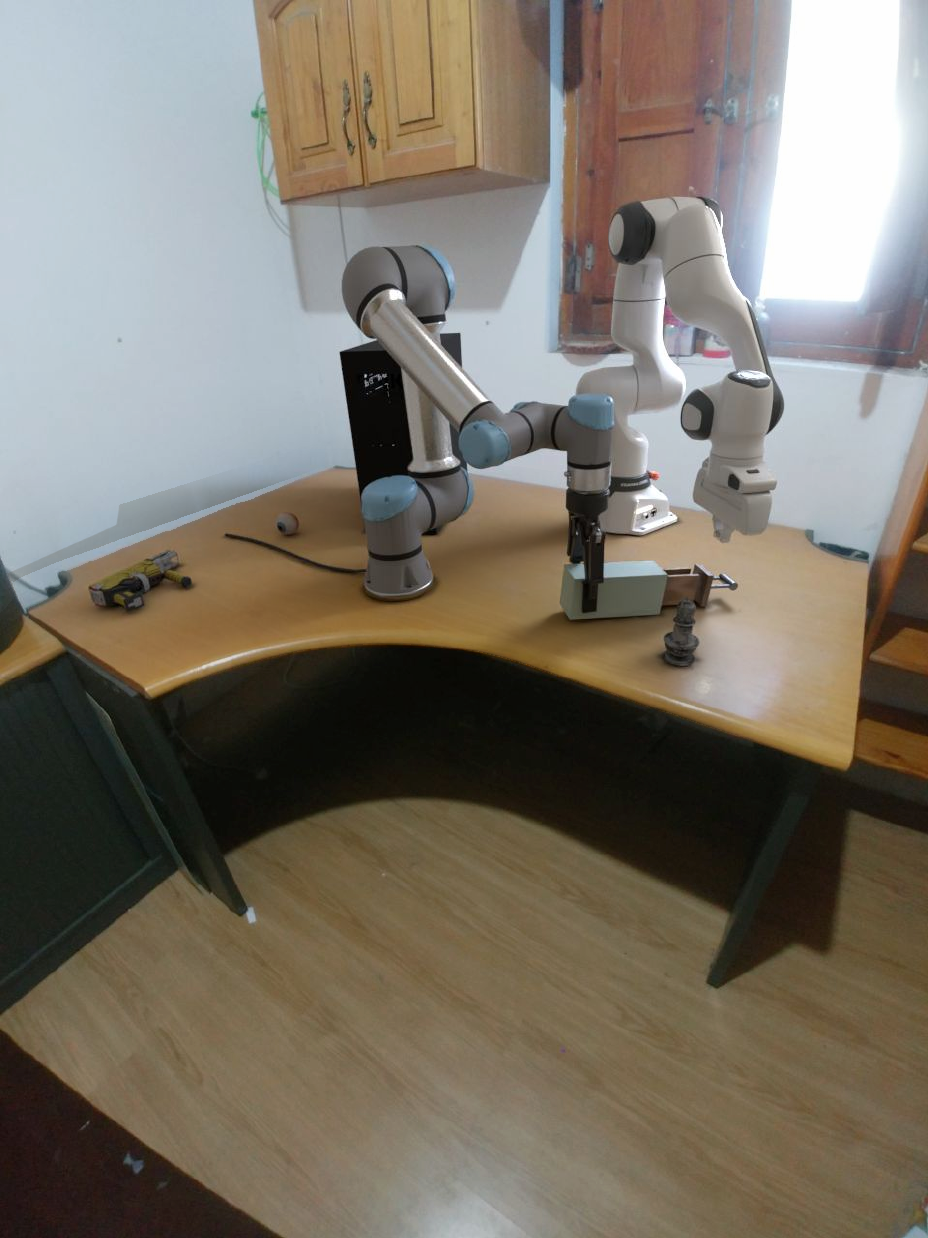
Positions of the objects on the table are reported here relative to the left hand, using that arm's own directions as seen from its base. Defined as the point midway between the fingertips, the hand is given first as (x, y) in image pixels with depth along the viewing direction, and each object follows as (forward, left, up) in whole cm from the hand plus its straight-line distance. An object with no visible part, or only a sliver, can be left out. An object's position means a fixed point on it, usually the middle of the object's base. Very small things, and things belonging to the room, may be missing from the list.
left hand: (582, 602), depth 118 cm
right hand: (+24, +13, +10) cm, 29 cm away
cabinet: (+5, +3, -2) cm, 6 cm away
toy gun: (-96, -13, -3) cm, 97 cm away
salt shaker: (+19, -11, -3) cm, 22 cm away
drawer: (+17, +9, -2) cm, 19 cm away
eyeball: (-85, +23, -3) cm, 88 cm away
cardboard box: (-57, +50, -3) cm, 76 cm away
